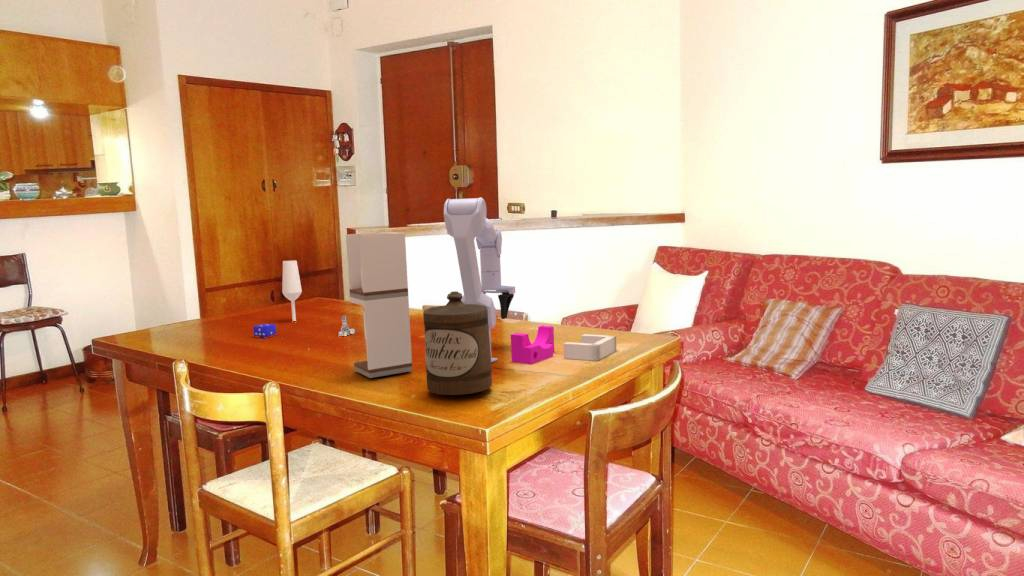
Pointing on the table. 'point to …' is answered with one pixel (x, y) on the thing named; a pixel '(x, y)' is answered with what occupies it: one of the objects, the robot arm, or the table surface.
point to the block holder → (590, 347)
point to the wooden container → (457, 347)
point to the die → (264, 330)
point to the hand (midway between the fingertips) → (492, 317)
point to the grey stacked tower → (381, 300)
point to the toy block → (533, 346)
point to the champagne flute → (291, 283)
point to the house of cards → (345, 328)
